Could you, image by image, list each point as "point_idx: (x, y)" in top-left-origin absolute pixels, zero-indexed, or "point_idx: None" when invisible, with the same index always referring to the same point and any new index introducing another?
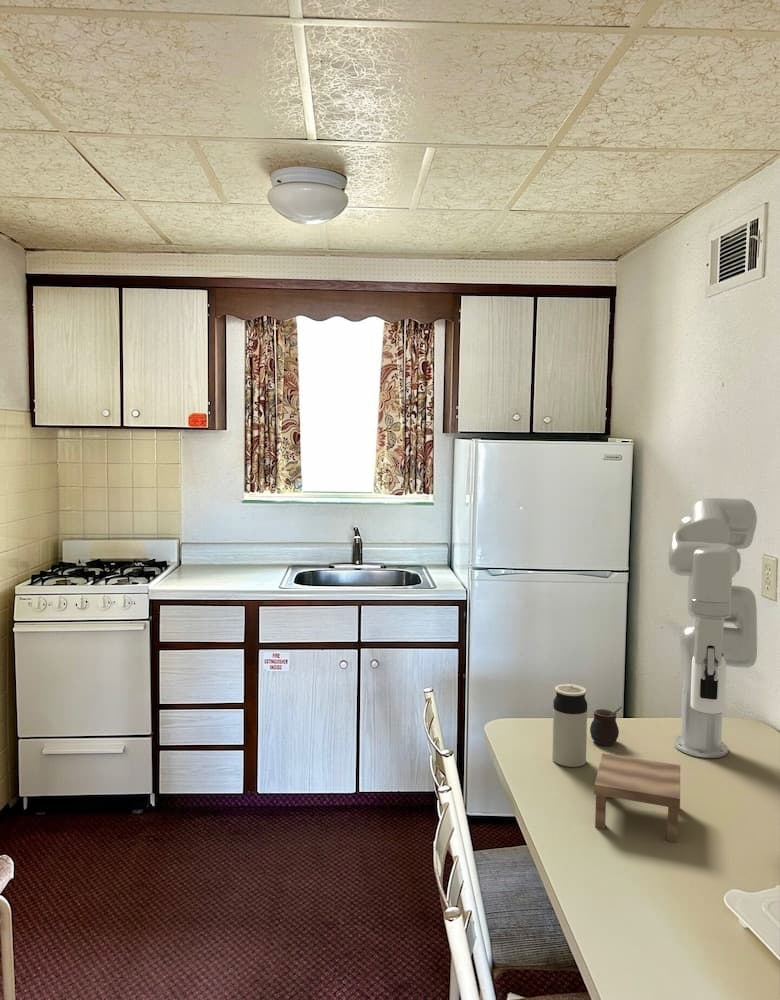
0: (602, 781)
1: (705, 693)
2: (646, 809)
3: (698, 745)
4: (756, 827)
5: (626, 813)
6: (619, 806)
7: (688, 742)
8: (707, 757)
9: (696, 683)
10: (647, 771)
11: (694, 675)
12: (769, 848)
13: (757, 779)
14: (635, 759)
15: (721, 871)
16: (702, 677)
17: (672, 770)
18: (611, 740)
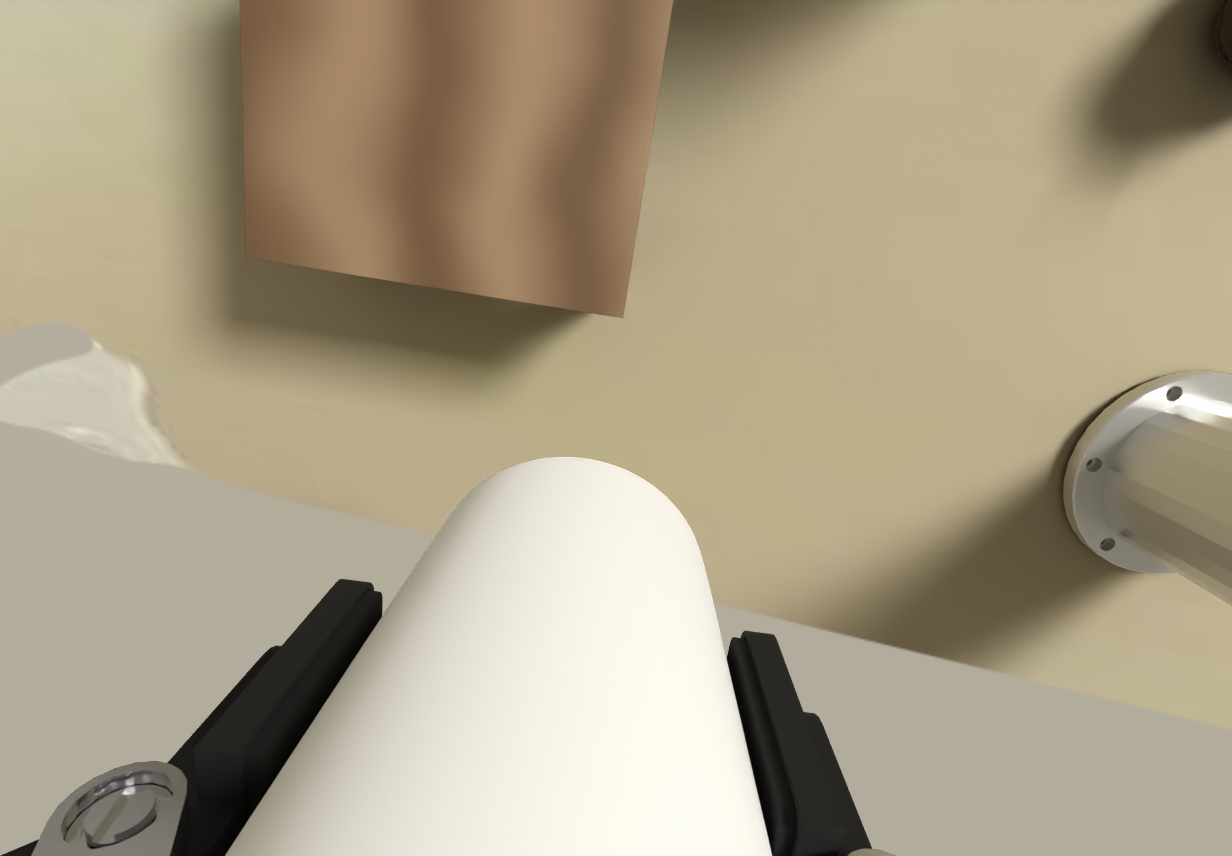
0: None
1: (268, 656)
2: None
3: (1128, 464)
4: None
5: None
6: None
7: (1164, 428)
8: (1064, 480)
9: (390, 633)
10: (502, 132)
11: (385, 689)
12: (412, 525)
13: (888, 605)
14: (645, 79)
15: (223, 360)
16: (63, 801)
17: (549, 268)
18: (1227, 45)
